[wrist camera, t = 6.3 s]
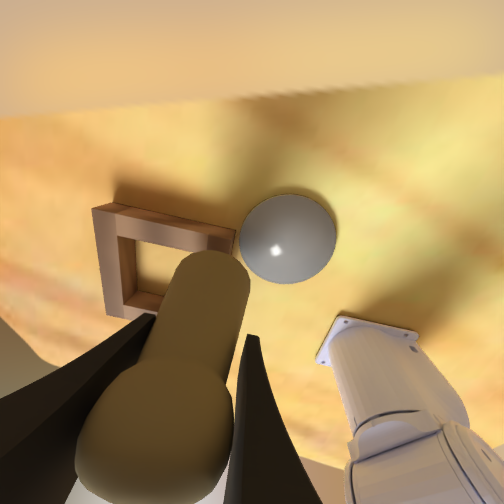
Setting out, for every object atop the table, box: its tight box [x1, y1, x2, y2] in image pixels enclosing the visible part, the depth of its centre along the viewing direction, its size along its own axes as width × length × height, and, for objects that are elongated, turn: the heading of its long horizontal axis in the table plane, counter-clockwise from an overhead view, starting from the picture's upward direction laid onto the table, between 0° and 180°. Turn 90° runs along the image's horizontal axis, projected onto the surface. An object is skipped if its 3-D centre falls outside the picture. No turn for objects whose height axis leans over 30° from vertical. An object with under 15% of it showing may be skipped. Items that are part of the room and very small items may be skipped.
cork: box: [75, 250, 250, 504], centre depth 11 cm, size 6×6×11 cm
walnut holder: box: [91, 202, 236, 321], centre depth 20 cm, size 12×12×2 cm
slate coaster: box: [239, 194, 336, 284], centre depth 19 cm, size 9×9×1 cm
